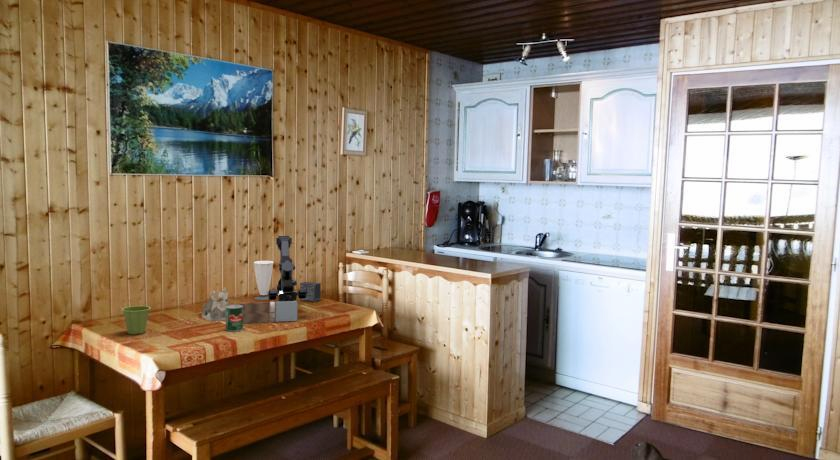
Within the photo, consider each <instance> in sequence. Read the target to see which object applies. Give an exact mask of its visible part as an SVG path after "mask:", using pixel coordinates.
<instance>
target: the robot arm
mask: <svg viewBox="0 0 840 460" xmlns="http://www.w3.org/2000/svg"><path fill="white" fill-rule="evenodd" d="M292 240H293V238H292V237H290V236H289V235H278V237H276V238H275V244H276V245H277V250H278V251H279V252H280V253H279V254H280V258H279V259H280V260H279V264H278V271H279V273H280V278H279V280H278V282H277V285H276V289H269V291H268V296H269V300H268V301H275V300H277V297H278V301H277V302H286V301H298V300H297V299H305V298H306V295H307V290H306V289H305V288H304V289H300V288H298V291H296V290H295V291H294V287H296V286H297V284H298V281H297V278H293V274H294V271H295V270H296V266H295V264H294V263H293V259H292V258H291V256H290V248H291V245H292V243H293V242H292ZM297 297H298V298H297Z"/></svg>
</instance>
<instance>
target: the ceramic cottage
mask: <svg viewBox="0 0 840 460" xmlns="http://www.w3.org/2000/svg"><path fill="white" fill-rule="evenodd" d="M216 296H217V293H216V290H213V291H212V292H211V296H210V297H209V299H208V300H207V301H206V303H205V304H203V305H202V307H203V310H202V313H201V318H202V319H204V318H205V320H206V319H207V321H208V320H209V322H223V320H224V321H226V306H228V305H230V296H229V292H227V288H226V287H223V289H222V290H221V291H218V297H216Z"/></svg>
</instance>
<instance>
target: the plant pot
mask: <svg viewBox="0 0 840 460" xmlns="http://www.w3.org/2000/svg"><path fill="white" fill-rule="evenodd" d="M150 310H151V307H150V306H147V305H132V306H126V307H123V308H121V311H122V313H123V316H124V319H125V320H124V322H125V326H126V331H127V334H129V335H138V334H140V335H143V334H145V333H146V328H147V323H148V317H149V312H150Z"/></svg>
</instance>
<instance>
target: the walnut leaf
mask: <svg viewBox="0 0 840 460" xmlns="http://www.w3.org/2000/svg"><path fill="white" fill-rule="evenodd" d="M238 305H243V325H245V324H248V325H249V324H265V323H267V324H268V323H271V324H272V323H273V324H274V323H276V311H275V312H270V302H269V301H263V302H262V301H261V302H239V304H238Z"/></svg>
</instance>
